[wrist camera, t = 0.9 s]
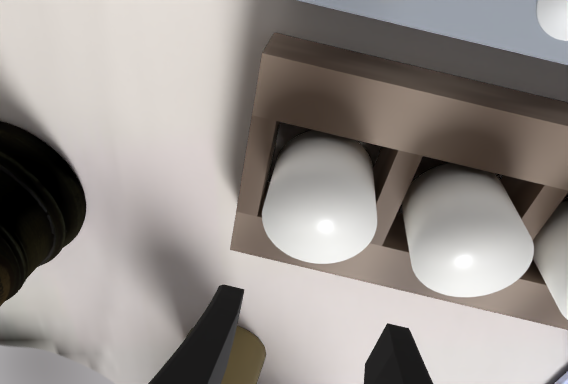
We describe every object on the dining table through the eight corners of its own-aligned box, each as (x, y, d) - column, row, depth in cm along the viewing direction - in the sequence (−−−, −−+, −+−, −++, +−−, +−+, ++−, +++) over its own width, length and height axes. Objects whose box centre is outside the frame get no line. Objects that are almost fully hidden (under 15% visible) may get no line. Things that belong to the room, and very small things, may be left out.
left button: (387, 143, 18) (394, 189, 15) (356, 221, 20) (357, 274, 17) (285, 118, 17) (272, 160, 15) (267, 200, 20) (254, 249, 17)
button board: (710, 136, 18) (769, 174, 15) (571, 291, 23) (597, 336, 21) (274, 32, 18) (261, 52, 15) (242, 213, 23) (229, 249, 21)
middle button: (525, 176, 18) (558, 228, 15) (477, 250, 20) (498, 307, 17) (423, 151, 18) (438, 199, 15) (388, 229, 20) (395, 282, 17)
